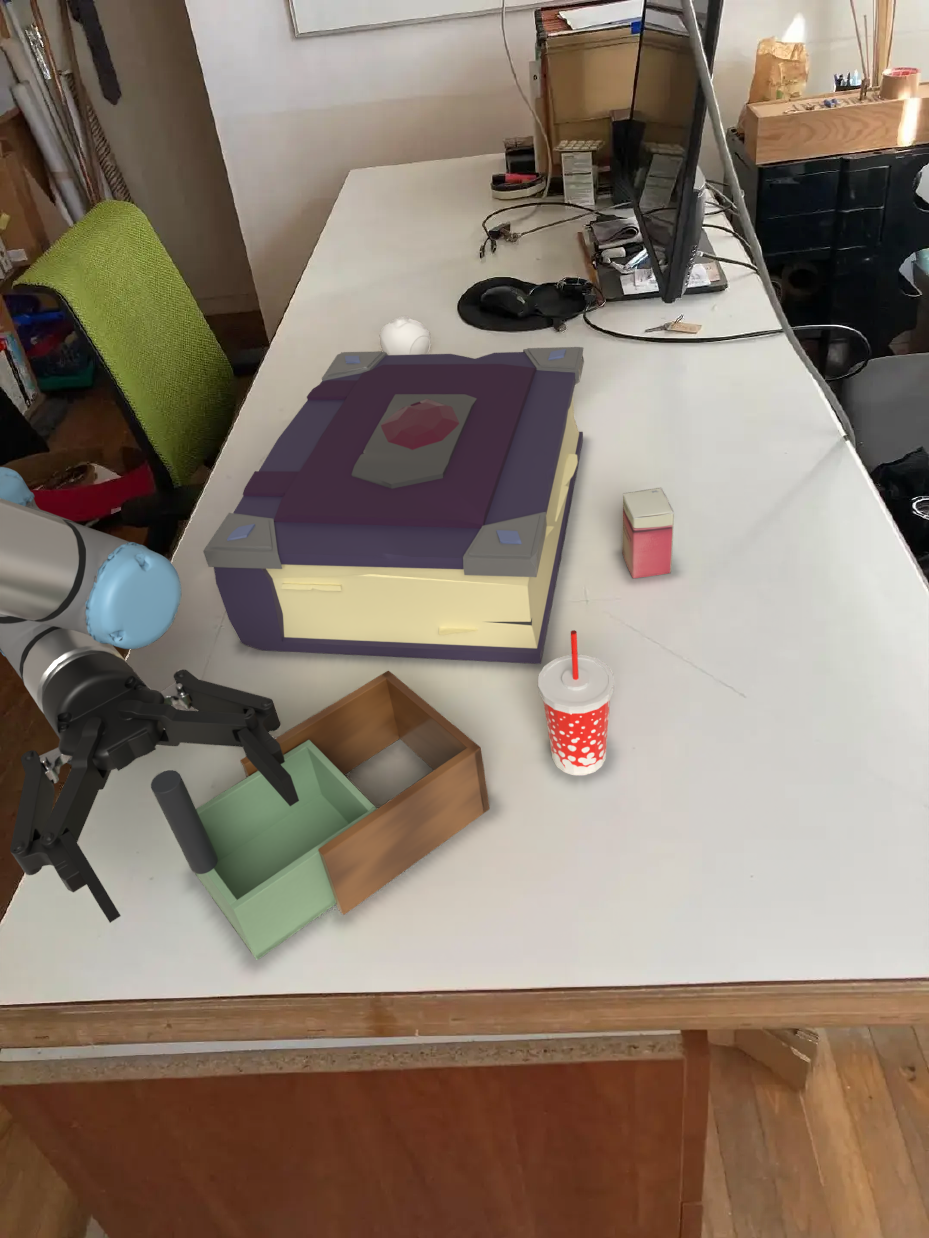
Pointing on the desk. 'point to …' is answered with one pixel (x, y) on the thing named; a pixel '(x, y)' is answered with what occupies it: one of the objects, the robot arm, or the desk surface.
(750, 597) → the desk surface
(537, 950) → the desk surface
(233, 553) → the book
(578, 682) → the beverage cup
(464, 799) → the wooden drawer casing
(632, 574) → the small box
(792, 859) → the desk surface
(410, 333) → the white lumpy ball
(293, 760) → the green open box
